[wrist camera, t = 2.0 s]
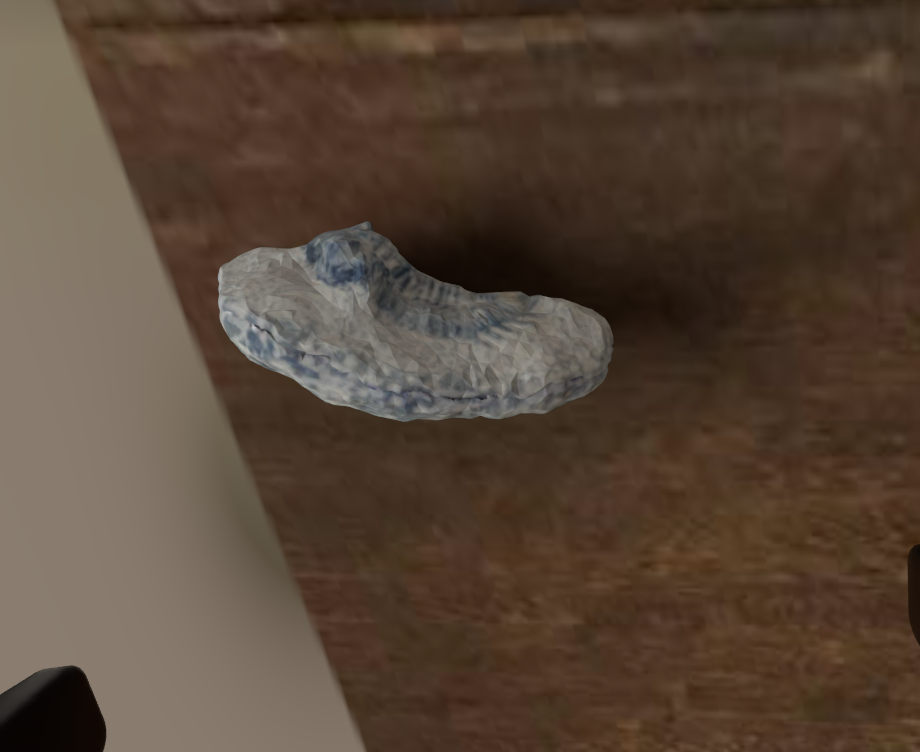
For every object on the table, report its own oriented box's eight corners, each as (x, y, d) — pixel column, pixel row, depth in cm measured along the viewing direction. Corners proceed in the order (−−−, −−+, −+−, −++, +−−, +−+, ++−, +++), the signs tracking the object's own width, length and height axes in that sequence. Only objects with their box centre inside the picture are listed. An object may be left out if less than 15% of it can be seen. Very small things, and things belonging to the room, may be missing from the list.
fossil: (612, 261, 18) (655, 309, 13) (576, 397, 19) (604, 486, 14) (263, 190, 18) (181, 212, 13) (248, 331, 19) (165, 399, 14)
